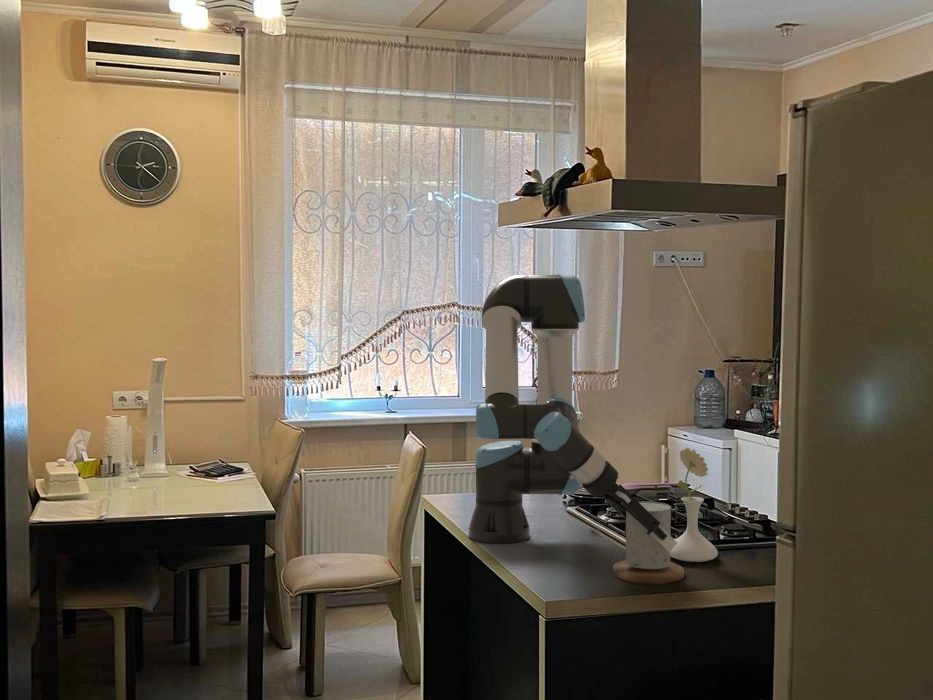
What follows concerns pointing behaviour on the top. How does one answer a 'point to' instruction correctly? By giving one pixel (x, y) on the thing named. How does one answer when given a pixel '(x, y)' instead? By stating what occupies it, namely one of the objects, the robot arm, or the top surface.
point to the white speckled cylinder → (647, 539)
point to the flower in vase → (693, 516)
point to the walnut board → (648, 573)
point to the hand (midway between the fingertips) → (661, 541)
